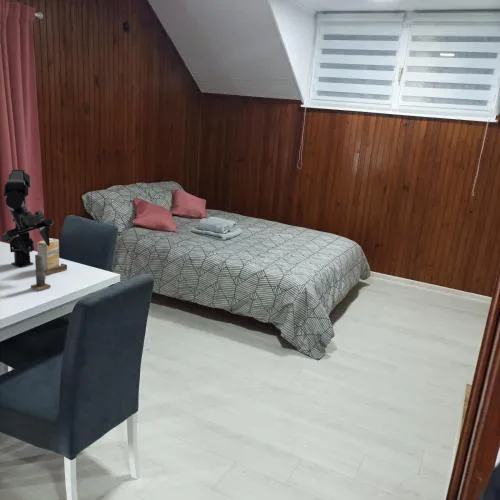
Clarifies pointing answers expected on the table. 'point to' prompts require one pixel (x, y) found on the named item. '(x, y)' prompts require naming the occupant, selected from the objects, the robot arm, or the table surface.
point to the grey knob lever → (44, 272)
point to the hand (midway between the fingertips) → (38, 249)
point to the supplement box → (49, 252)
